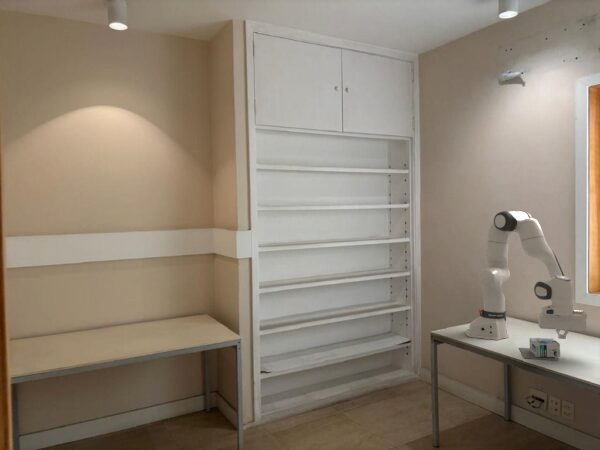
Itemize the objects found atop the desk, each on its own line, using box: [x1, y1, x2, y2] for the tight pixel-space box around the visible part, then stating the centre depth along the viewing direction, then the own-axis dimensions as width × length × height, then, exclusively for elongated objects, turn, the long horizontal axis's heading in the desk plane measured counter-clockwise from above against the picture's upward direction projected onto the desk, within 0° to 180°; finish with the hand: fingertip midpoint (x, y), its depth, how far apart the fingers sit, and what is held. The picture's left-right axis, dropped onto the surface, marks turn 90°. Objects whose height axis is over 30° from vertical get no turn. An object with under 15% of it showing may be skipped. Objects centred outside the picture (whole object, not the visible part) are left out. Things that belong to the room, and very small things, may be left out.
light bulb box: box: [529, 337, 561, 358], centre depth 228 cm, size 11×7×11 cm
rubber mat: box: [518, 347, 558, 362], centre depth 229 cm, size 14×16×1 cm
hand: (561, 338), depth 226 cm, fingers closed
